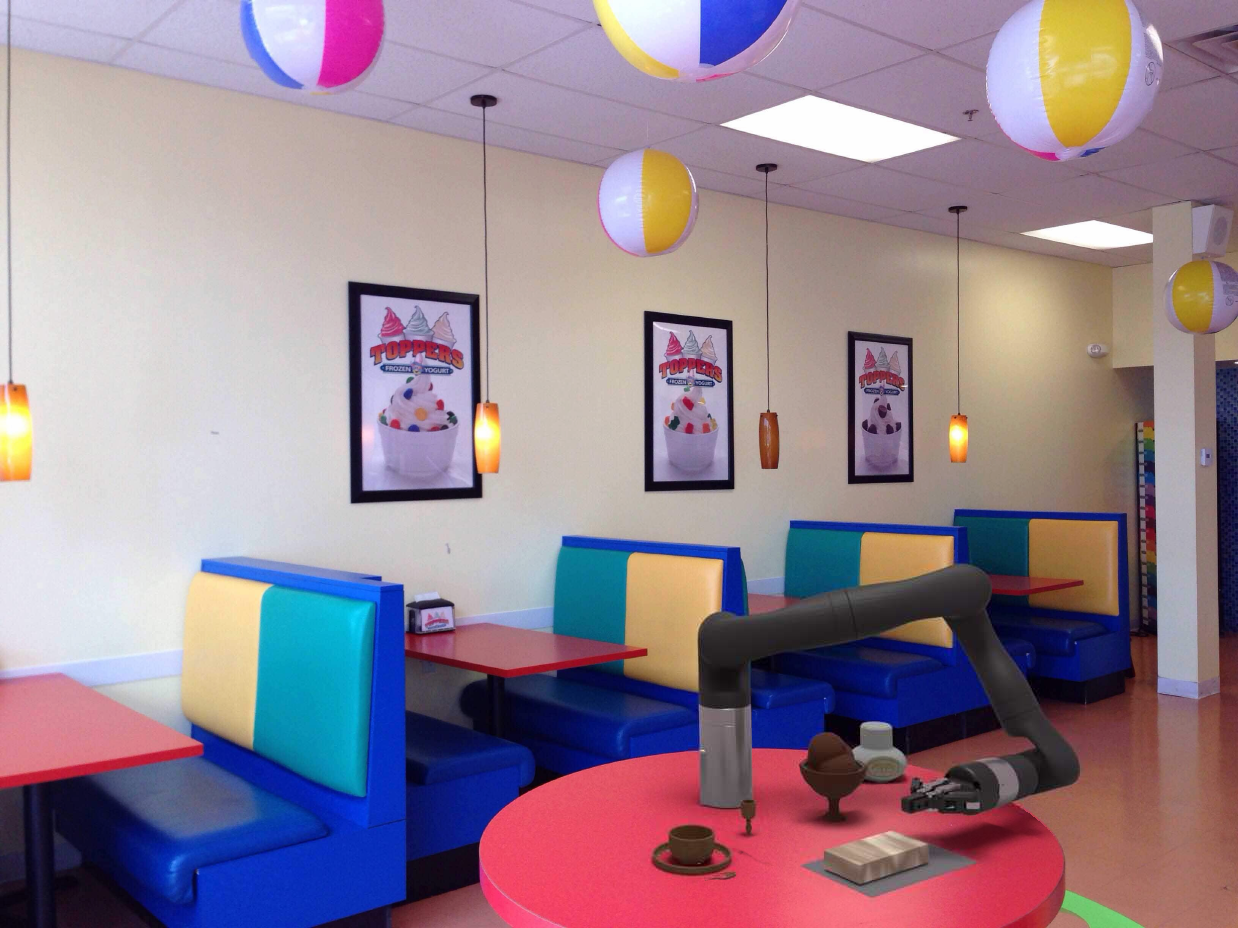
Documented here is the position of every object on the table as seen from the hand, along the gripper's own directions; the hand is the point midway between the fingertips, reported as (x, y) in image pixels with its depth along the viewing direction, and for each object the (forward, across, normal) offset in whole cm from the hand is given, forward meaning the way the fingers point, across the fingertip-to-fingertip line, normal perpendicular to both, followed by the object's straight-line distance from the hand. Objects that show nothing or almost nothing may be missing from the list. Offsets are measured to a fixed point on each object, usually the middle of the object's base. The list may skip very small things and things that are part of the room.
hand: (905, 805), depth 151 cm
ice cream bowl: (-4, -19, +9) cm, 22 cm away
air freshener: (-29, -33, +9) cm, 44 cm away
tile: (-1, 0, +6) cm, 6 cm away
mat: (+4, 0, +8) cm, 9 cm away
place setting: (+21, -19, +9) cm, 30 cm away
